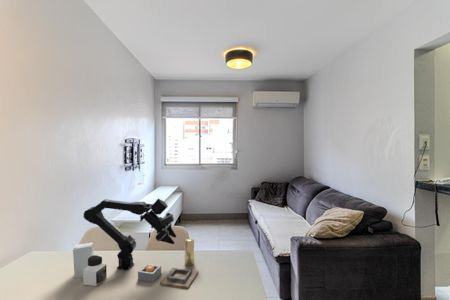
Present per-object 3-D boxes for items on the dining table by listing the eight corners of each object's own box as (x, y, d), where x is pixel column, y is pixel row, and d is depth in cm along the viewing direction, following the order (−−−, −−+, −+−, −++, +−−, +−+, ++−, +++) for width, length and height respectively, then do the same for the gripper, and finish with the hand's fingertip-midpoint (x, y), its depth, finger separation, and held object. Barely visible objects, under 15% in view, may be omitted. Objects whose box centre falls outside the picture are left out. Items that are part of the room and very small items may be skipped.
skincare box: (94, 270, 128) (94, 241, 128) (92, 276, 123) (92, 246, 122) (75, 273, 126) (75, 244, 125) (73, 279, 120) (72, 248, 120)
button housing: (138, 280, 119) (137, 271, 119) (147, 271, 127) (146, 264, 127) (153, 282, 117) (153, 273, 117) (161, 273, 125) (161, 265, 125)
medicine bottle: (96, 286, 114) (96, 260, 113) (83, 284, 115) (82, 259, 115) (106, 278, 121) (106, 253, 120) (94, 276, 122) (93, 252, 122)
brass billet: (183, 265, 134) (183, 241, 133) (186, 261, 138) (186, 238, 138) (192, 266, 132) (192, 242, 132) (195, 262, 137) (195, 239, 137)
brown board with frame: (159, 284, 115) (159, 279, 115) (172, 269, 129) (172, 265, 129) (187, 288, 112) (187, 283, 112) (198, 273, 126) (198, 268, 126)
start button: (144, 275, 121) (144, 268, 121) (148, 270, 125) (148, 265, 125) (151, 276, 120) (151, 269, 120) (155, 271, 124) (155, 266, 124)
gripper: (162, 214, 124) (184, 235, 126) (167, 205, 143) (186, 224, 144) (146, 230, 124) (168, 251, 125) (153, 219, 142) (172, 237, 144)
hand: (175, 240), depth 134 cm, fingers open, 9 cm apart
